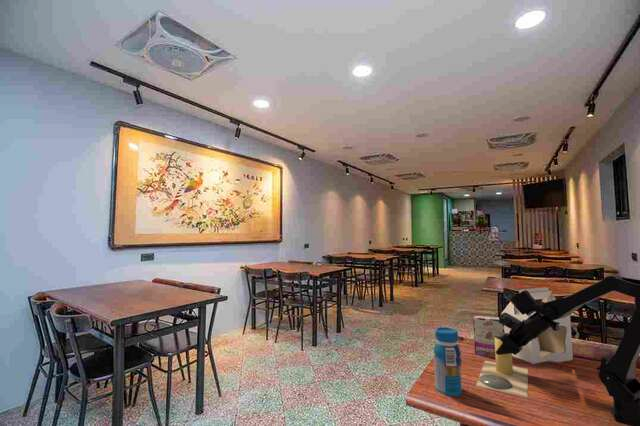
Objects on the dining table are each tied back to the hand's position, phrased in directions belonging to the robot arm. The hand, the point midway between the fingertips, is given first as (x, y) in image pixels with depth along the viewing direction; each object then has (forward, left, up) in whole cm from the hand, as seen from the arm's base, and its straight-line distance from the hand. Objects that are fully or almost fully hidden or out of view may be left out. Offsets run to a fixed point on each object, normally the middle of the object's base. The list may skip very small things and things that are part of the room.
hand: (499, 351), depth 114 cm
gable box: (+26, -11, -8) cm, 29 cm away
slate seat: (-11, +1, -7) cm, 13 cm away
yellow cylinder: (0, -1, -7) cm, 7 cm away
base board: (-5, -1, -8) cm, 10 cm away
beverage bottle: (-24, +13, -8) cm, 29 cm away
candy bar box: (+15, +5, -8) cm, 18 cm away
